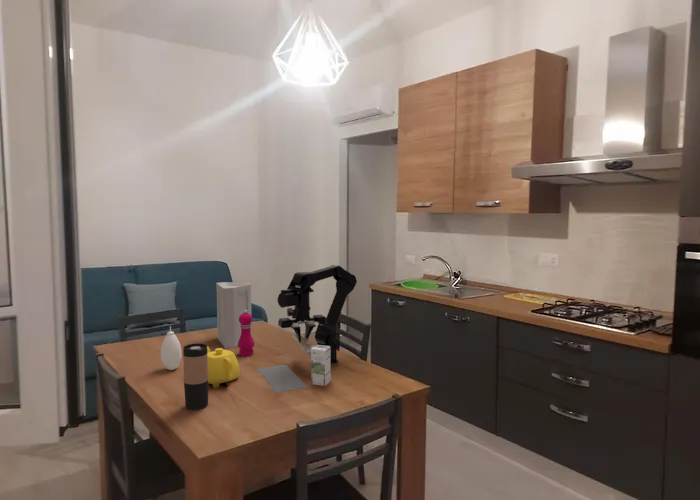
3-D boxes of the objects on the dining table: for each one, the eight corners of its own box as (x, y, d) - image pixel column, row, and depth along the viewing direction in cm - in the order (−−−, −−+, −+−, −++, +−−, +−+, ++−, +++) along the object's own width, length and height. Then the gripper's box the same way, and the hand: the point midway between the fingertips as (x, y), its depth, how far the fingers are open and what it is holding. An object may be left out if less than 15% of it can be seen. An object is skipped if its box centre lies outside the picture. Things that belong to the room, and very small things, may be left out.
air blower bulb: (185, 369, 200) (184, 325, 198) (167, 374, 194) (165, 329, 192) (176, 365, 205) (174, 322, 203) (157, 369, 199) (156, 325, 198)
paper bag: (256, 344, 236) (255, 286, 233) (224, 348, 230) (223, 288, 227) (246, 334, 253) (245, 280, 251) (217, 338, 247) (216, 282, 244)
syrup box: (331, 383, 183) (331, 345, 182) (325, 389, 178) (325, 349, 177) (317, 382, 185) (316, 344, 184) (310, 387, 180) (310, 348, 178)
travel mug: (187, 401, 166) (186, 343, 165) (211, 400, 167) (209, 343, 165) (182, 410, 159) (180, 350, 157) (206, 410, 160) (204, 349, 158)
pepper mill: (250, 356, 216) (249, 311, 214) (235, 355, 218) (234, 311, 216) (257, 352, 223) (256, 308, 221) (242, 351, 225) (241, 307, 223)
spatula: (301, 337, 210) (301, 331, 210) (320, 353, 188) (320, 345, 188) (289, 339, 208) (289, 332, 208) (308, 354, 186) (308, 347, 186)
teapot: (214, 393, 174) (213, 357, 173) (188, 378, 189) (187, 346, 188) (247, 383, 184) (247, 350, 182) (221, 370, 198) (220, 339, 197)
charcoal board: (286, 367, 202) (285, 364, 202) (308, 390, 176) (308, 387, 176) (256, 371, 197) (256, 368, 197) (275, 395, 172) (275, 392, 171)
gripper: (317, 298, 209) (317, 334, 211) (274, 302, 202) (275, 339, 203) (326, 303, 199) (327, 341, 201) (281, 307, 192) (282, 346, 193)
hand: (302, 342), depth 200 cm, fingers closed on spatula, 2 cm apart
